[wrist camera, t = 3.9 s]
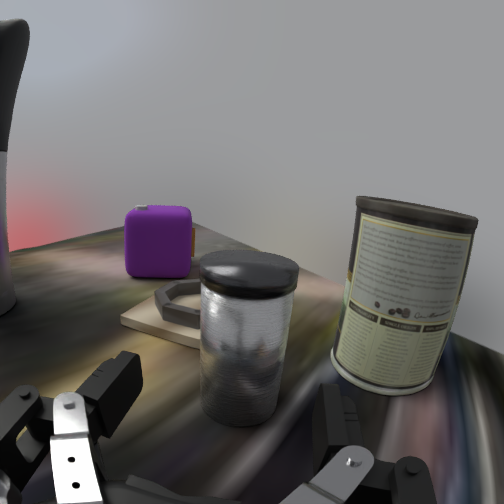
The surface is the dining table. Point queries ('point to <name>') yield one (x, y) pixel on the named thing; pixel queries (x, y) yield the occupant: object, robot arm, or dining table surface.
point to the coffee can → (400, 293)
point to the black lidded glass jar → (243, 333)
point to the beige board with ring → (170, 313)
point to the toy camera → (159, 241)
